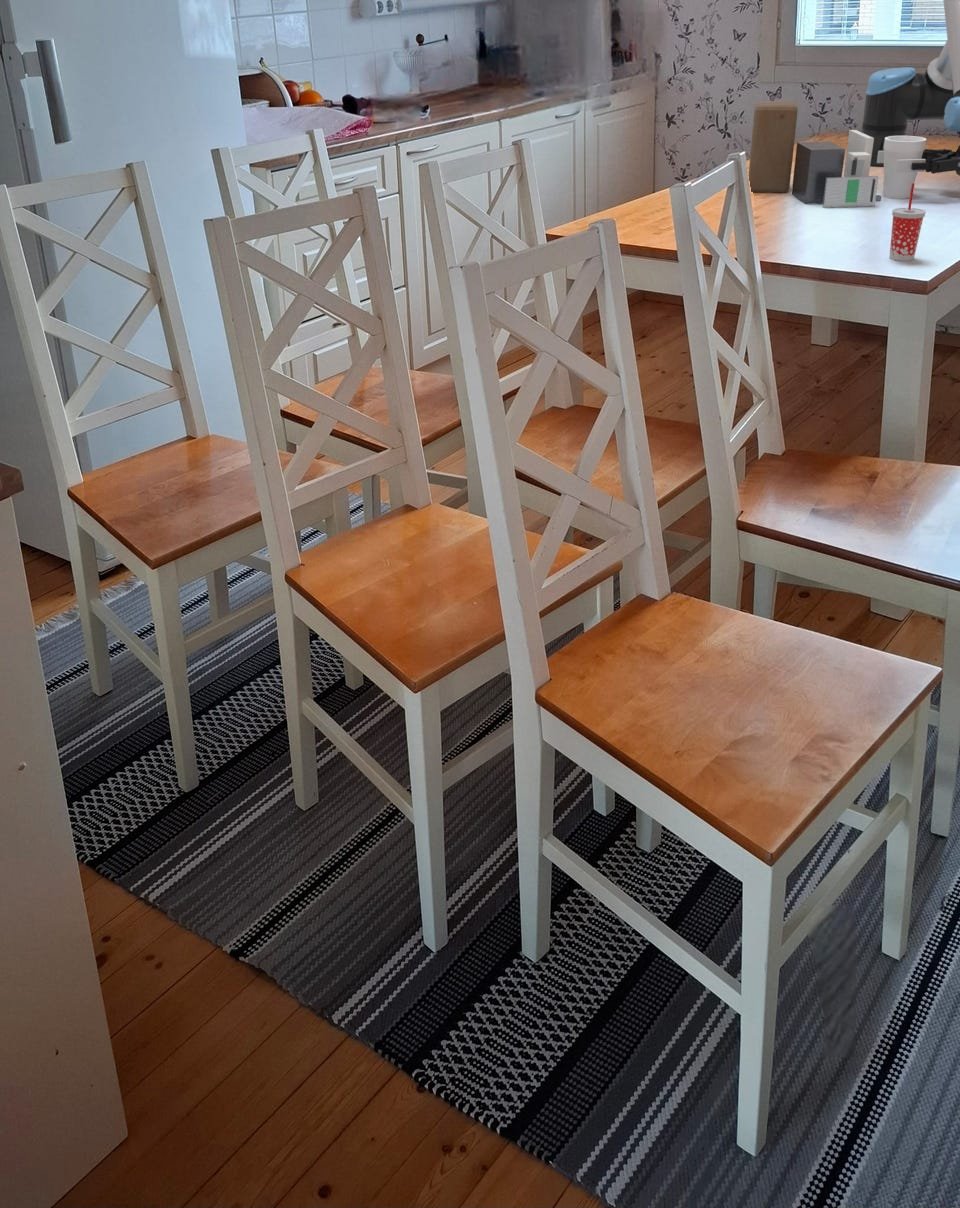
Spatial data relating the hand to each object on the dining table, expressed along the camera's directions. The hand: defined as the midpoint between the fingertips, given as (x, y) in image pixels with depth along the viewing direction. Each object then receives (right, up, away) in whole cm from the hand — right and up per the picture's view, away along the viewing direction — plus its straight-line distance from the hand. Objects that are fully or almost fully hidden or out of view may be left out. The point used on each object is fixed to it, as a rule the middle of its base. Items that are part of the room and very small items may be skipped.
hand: (887, 161), depth 278 cm
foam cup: (+4, -7, +4) cm, 9 cm away
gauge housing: (-11, -9, +1) cm, 14 cm away
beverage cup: (-14, -37, -48) cm, 62 cm away
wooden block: (-25, -1, +15) cm, 29 cm away
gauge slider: (-9, -7, +1) cm, 11 cm away
